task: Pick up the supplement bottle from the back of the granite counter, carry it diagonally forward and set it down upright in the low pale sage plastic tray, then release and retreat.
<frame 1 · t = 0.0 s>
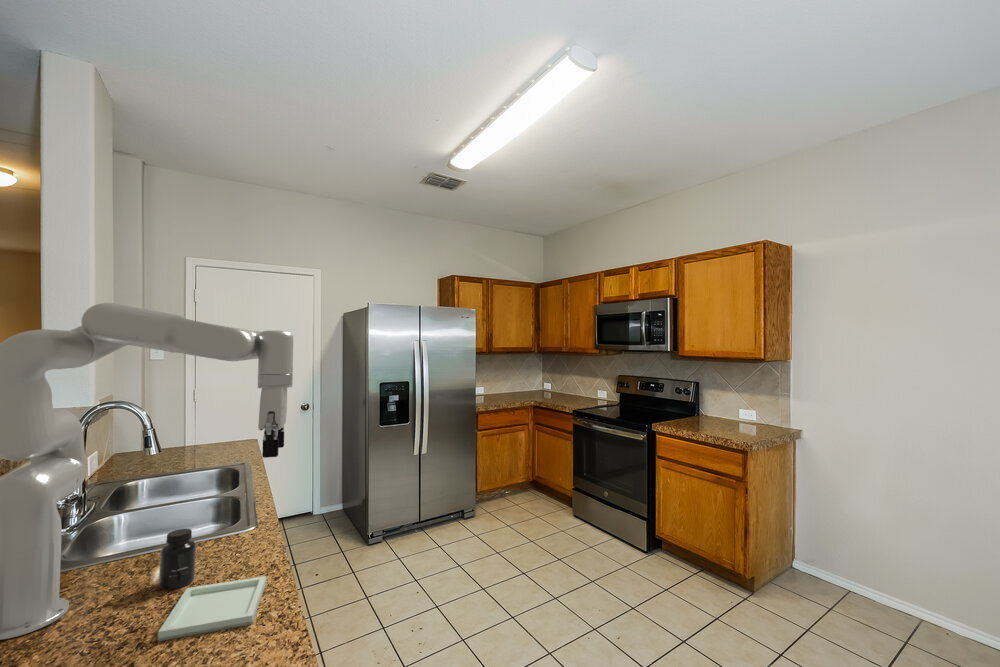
hand: (273, 452, 105), 31 cm above the countertop, tool pointing down, fingers open, 9 cm apart
sage tray: (217, 609, 93), on the countertop
supplement bottle: (177, 584, 103), on the countertop
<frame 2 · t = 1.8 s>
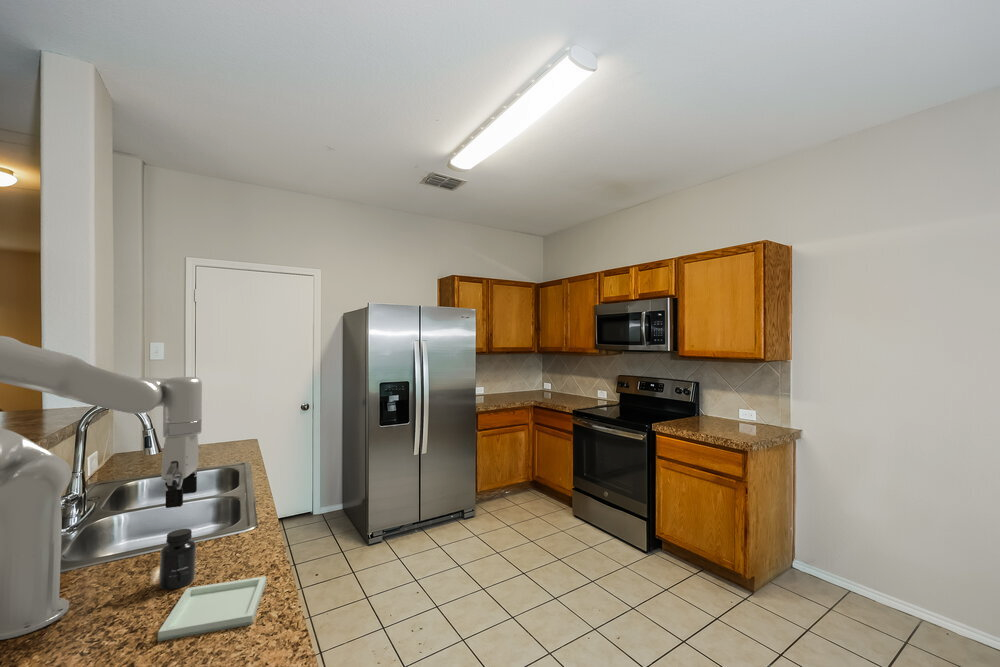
hand: (181, 499, 104), 20 cm above the countertop, tool pointing down, fingers open, 9 cm apart
nothing on the countertop moved.
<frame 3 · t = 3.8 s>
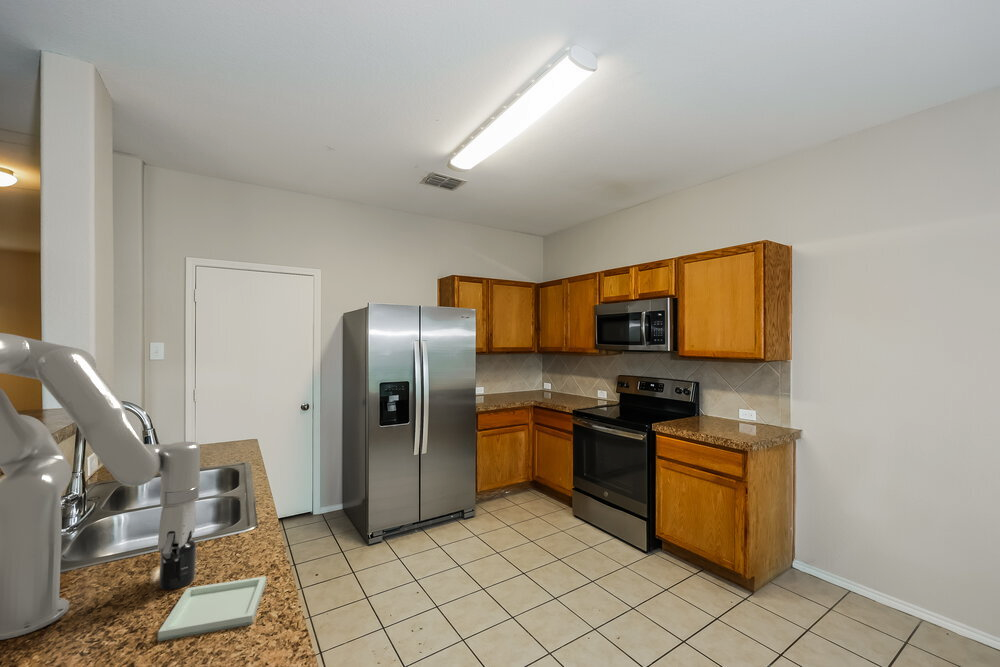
hand: (178, 569, 104), 3 cm above the countertop, tool pointing down, fingers closed on supplement bottle, 6 cm apart
supplement bottle: (177, 584, 103), on the countertop, touching gripper
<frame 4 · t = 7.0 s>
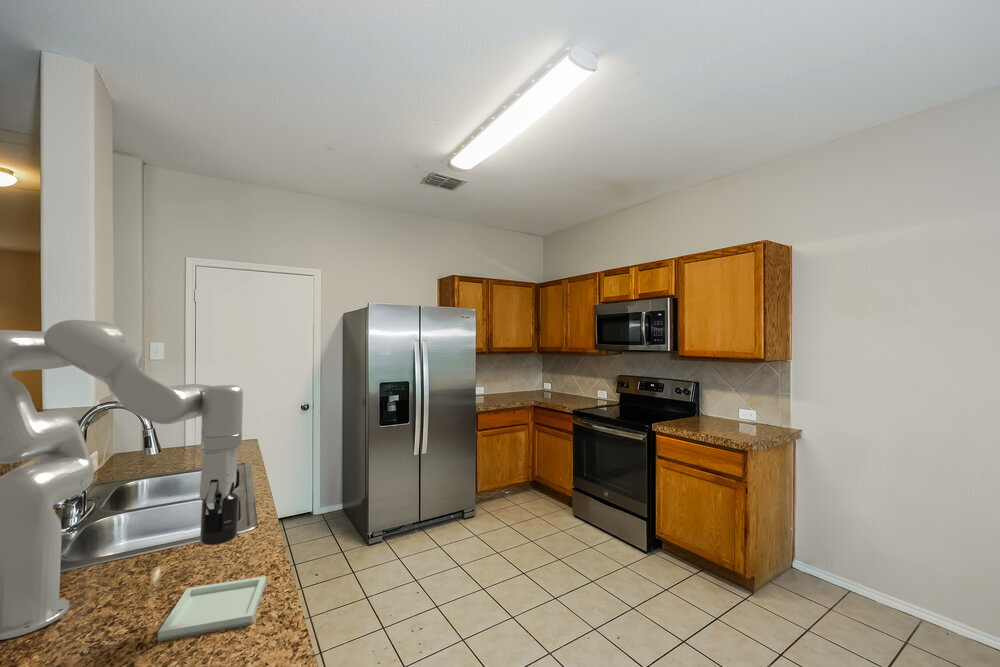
hand: (219, 524, 94), 18 cm above the countertop, tool pointing down, fingers closed on supplement bottle, 6 cm apart
supplement bottle: (219, 539, 94), point 15 cm above the countertop, touching gripper
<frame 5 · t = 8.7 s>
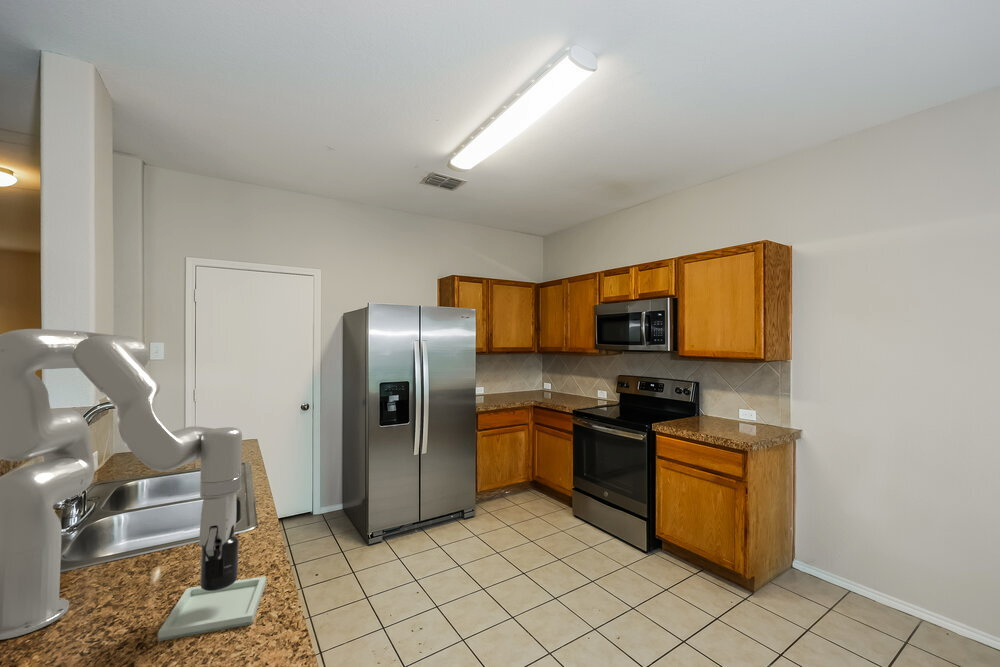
hand: (219, 568, 94), 9 cm above the countertop, tool pointing down, fingers closed on supplement bottle, 6 cm apart
supplement bottle: (219, 584, 94), point 5 cm above the countertop, touching gripper
when the fingers open (5 cm above the countertop, at t = 10.4 s): supplement bottle drops 1 cm, resting on sage tray.
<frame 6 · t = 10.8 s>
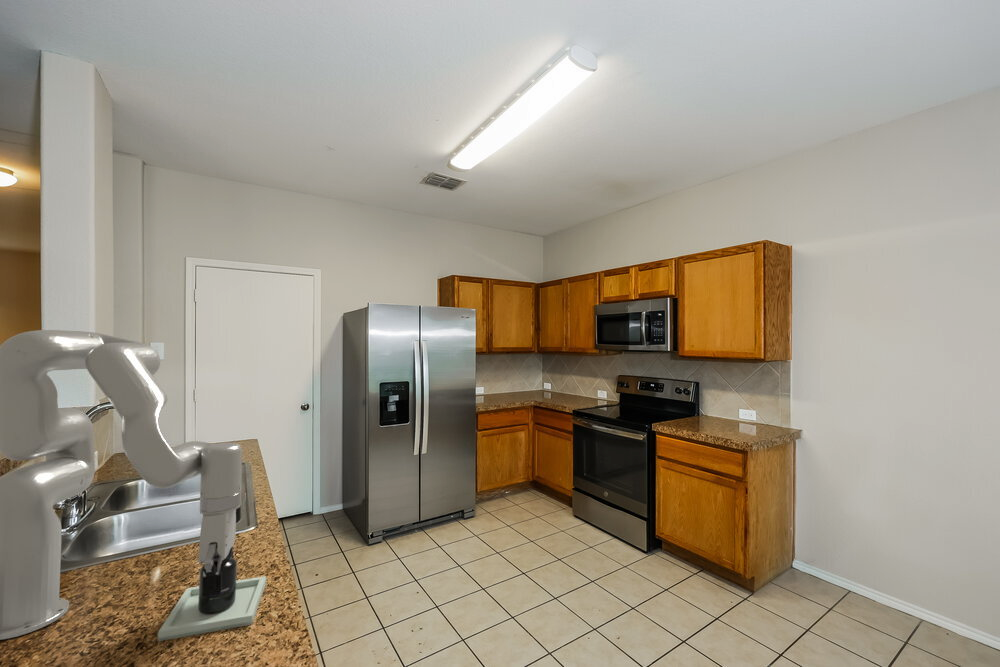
hand: (218, 581, 94), 6 cm above the countertop, tool pointing down, fingers open, 9 cm apart
supplement bottle: (217, 606, 94), resting on sage tray
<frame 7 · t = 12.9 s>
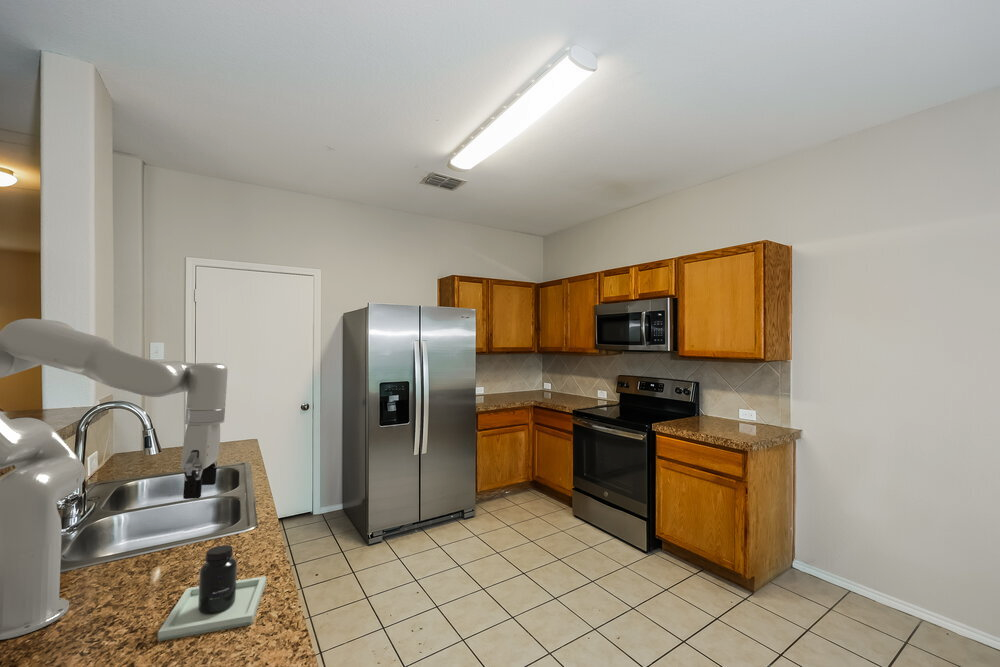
hand: (200, 491, 100), 23 cm above the countertop, tool pointing down, fingers open, 9 cm apart
nothing on the countertop moved.
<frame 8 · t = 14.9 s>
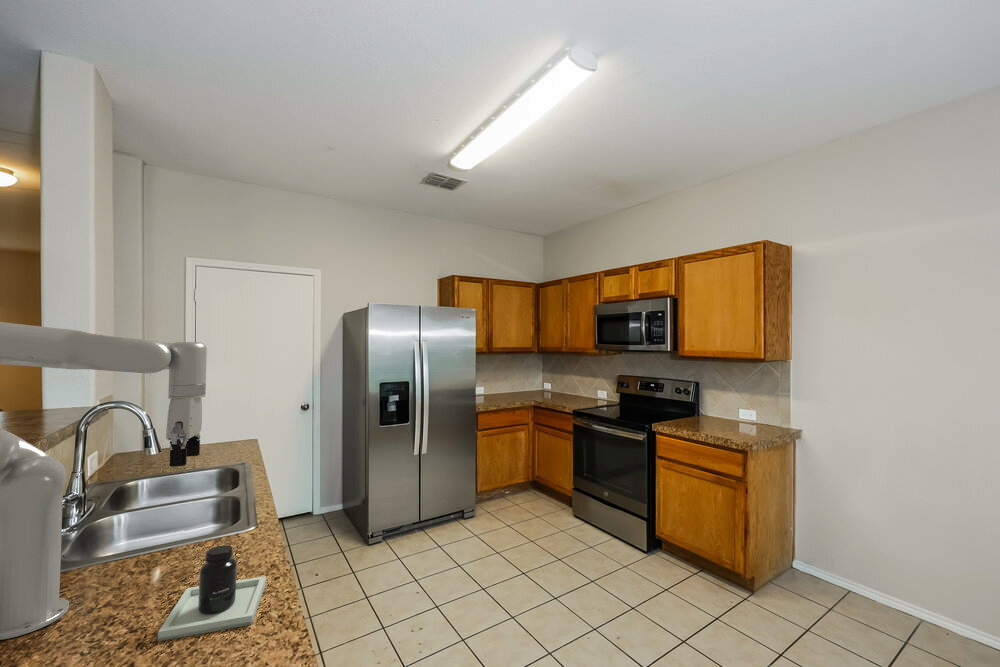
hand: (185, 460, 107), 28 cm above the countertop, tool pointing down, fingers open, 9 cm apart
nothing on the countertop moved.
at the end: supplement bottle inside the target area on the sage tray (0.4 cm from its centre), point 0.4 cm above the sage tray's base; supplement bottle tilted 0°; the gripper is holding nothing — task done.
